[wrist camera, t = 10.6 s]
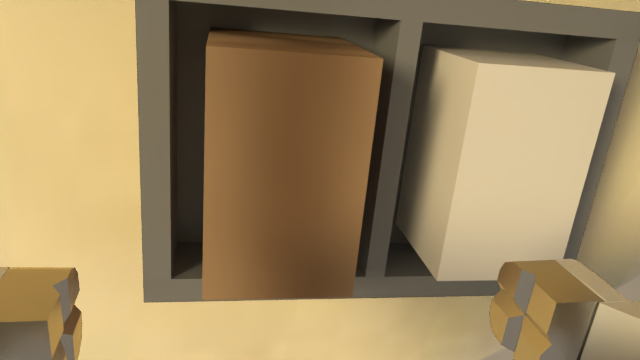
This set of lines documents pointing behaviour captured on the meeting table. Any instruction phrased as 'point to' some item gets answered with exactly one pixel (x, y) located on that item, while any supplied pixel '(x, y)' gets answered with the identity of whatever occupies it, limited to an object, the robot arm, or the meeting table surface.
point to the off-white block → (497, 158)
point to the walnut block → (285, 163)
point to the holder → (390, 126)
